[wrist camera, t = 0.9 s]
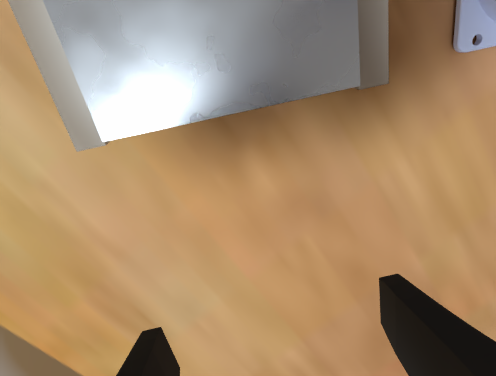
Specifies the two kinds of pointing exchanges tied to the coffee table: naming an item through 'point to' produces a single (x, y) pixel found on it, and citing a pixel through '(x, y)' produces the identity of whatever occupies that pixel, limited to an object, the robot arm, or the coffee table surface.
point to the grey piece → (202, 56)
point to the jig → (73, 103)
